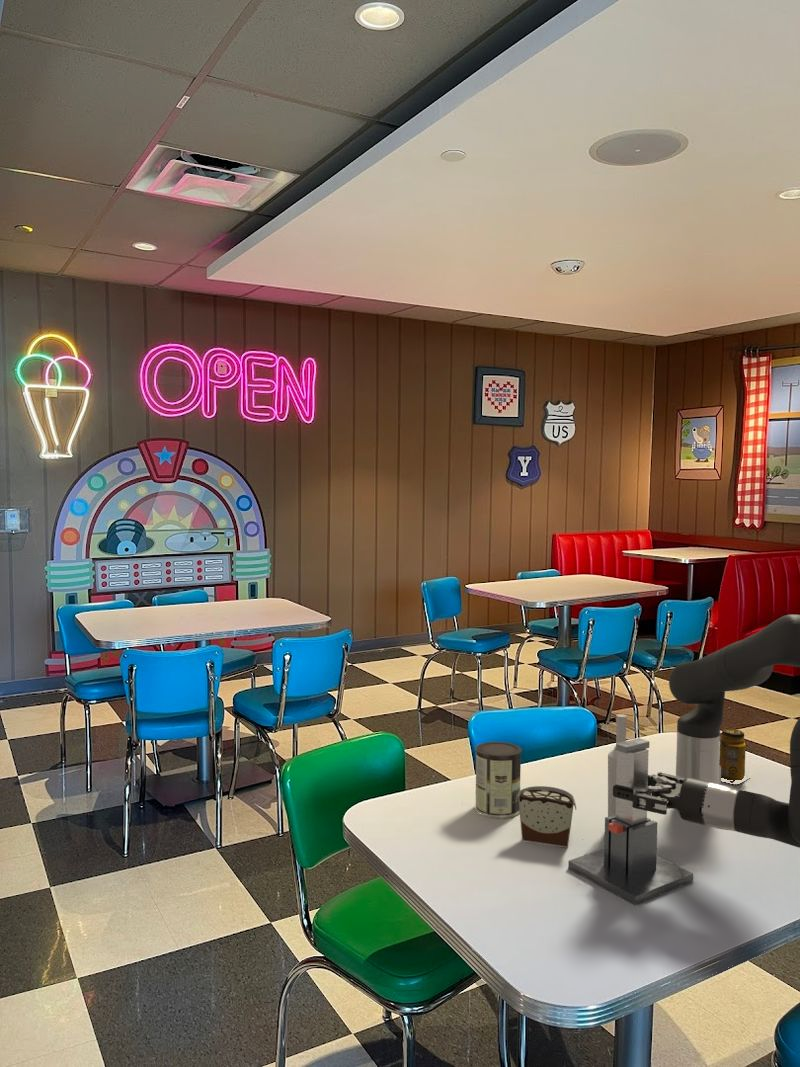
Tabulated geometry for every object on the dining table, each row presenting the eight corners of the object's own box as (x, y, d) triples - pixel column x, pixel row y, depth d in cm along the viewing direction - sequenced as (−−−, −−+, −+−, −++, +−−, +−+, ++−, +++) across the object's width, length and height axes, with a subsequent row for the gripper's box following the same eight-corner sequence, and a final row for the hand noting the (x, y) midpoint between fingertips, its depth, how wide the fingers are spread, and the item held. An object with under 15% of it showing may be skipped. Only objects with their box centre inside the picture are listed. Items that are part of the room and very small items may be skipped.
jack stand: (625, 848, 160) (626, 797, 160) (693, 881, 147) (694, 825, 146) (568, 868, 151) (569, 814, 151) (635, 904, 138) (636, 845, 137)
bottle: (632, 838, 165) (635, 719, 164) (607, 836, 166) (609, 718, 165) (630, 828, 170) (633, 713, 169) (605, 826, 171) (608, 711, 170)
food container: (579, 836, 166) (579, 789, 165) (575, 849, 160) (576, 800, 159) (520, 828, 170) (521, 782, 169) (514, 839, 164) (515, 792, 163)
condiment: (750, 778, 201) (752, 731, 200) (736, 786, 195) (738, 738, 194) (722, 770, 206) (723, 725, 206) (708, 778, 200) (709, 732, 200)
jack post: (632, 855, 152) (635, 736, 151) (650, 864, 149) (653, 742, 148) (609, 864, 149) (612, 742, 148) (627, 872, 145) (630, 748, 144)
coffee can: (503, 798, 186) (504, 738, 186) (529, 814, 177) (530, 751, 176) (466, 805, 182) (466, 744, 181) (490, 822, 172) (491, 758, 172)
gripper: (722, 772, 145) (636, 754, 155) (700, 795, 134) (607, 774, 143) (721, 812, 146) (635, 791, 155) (698, 838, 134) (607, 815, 144)
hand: (622, 783), depth 149 cm, fingers open, 8 cm apart
